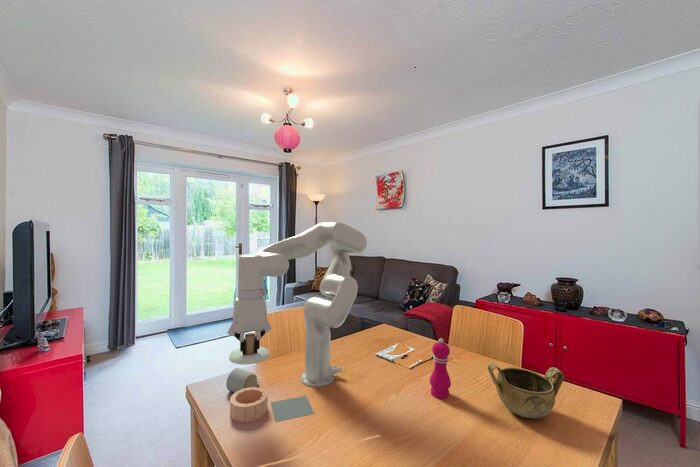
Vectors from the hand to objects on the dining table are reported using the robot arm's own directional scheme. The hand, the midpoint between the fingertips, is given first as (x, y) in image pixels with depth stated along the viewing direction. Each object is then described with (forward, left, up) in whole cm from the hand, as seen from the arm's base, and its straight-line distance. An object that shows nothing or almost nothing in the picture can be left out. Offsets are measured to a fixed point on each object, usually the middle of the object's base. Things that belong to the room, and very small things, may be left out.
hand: (249, 351), depth 97 cm
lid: (0, 0, -2) cm, 2 cm away
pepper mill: (-64, +12, -19) cm, 68 cm away
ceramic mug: (+1, -14, -19) cm, 24 cm away
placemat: (-13, +3, -19) cm, 23 cm away
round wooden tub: (0, 0, -19) cm, 19 cm away
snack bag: (-69, -20, -20) cm, 75 cm away
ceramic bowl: (-83, +30, -19) cm, 90 cm away
